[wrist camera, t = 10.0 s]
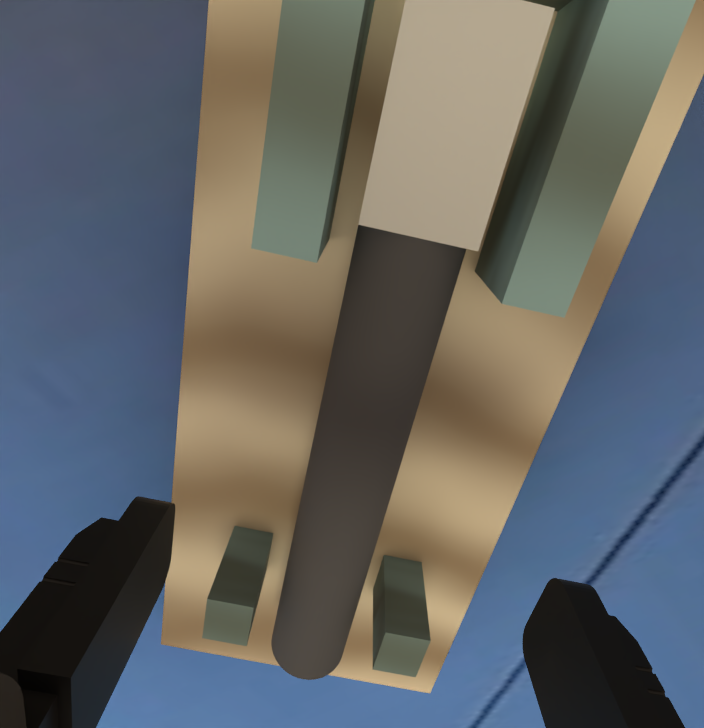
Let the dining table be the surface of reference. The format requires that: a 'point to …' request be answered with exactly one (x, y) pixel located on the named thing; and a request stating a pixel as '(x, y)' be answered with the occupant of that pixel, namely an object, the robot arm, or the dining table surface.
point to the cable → (401, 293)
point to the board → (326, 290)
